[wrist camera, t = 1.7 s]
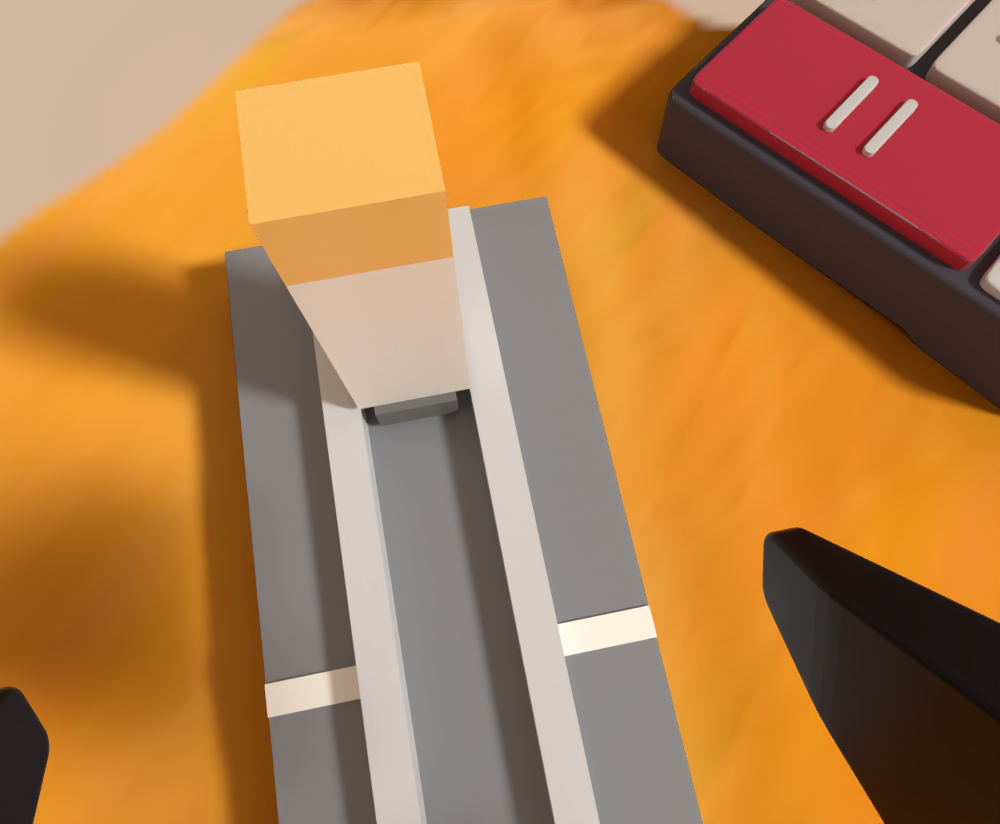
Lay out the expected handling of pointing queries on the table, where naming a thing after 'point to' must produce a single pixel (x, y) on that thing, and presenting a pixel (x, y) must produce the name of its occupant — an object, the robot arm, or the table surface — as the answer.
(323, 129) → the fader tab
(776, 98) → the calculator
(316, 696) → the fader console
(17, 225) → the table surface
